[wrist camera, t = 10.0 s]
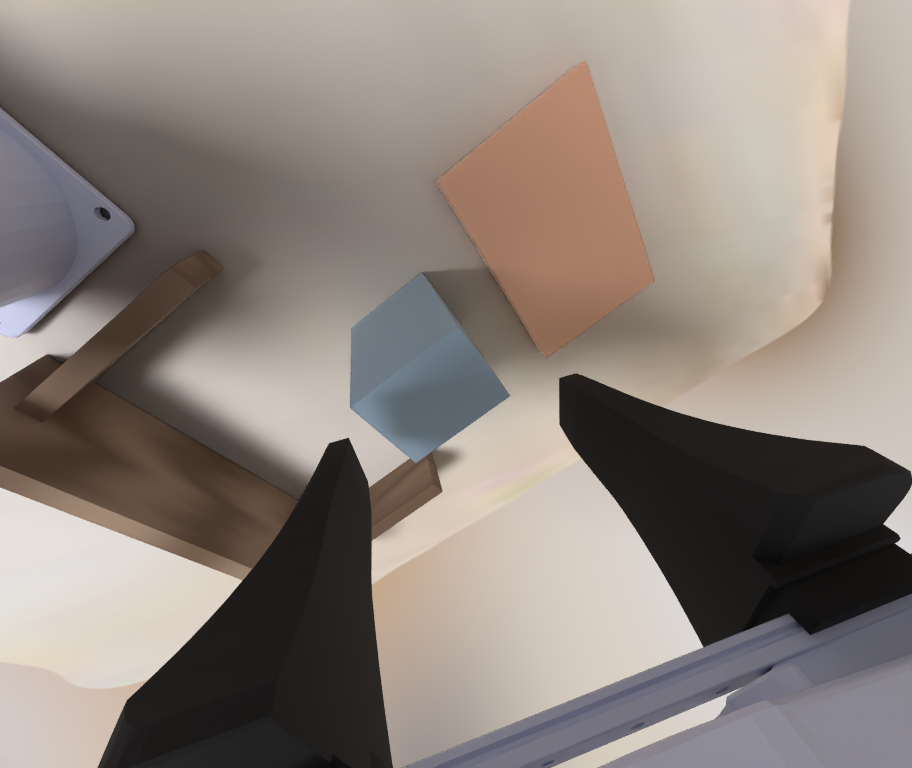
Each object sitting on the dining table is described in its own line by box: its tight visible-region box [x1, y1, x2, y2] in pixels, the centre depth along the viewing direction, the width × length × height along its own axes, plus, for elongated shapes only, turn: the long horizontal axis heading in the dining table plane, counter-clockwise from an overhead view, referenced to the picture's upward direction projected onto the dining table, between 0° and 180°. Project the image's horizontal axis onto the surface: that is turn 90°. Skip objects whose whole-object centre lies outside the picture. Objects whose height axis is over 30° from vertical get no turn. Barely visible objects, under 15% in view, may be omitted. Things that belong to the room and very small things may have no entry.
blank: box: [350, 272, 510, 463], centre depth 17 cm, size 4×5×8 cm
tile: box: [435, 61, 655, 358], centre depth 20 cm, size 12×8×1 cm, turn 35°
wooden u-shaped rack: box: [0, 250, 443, 580], centre depth 19 cm, size 20×10×6 cm, turn 35°
